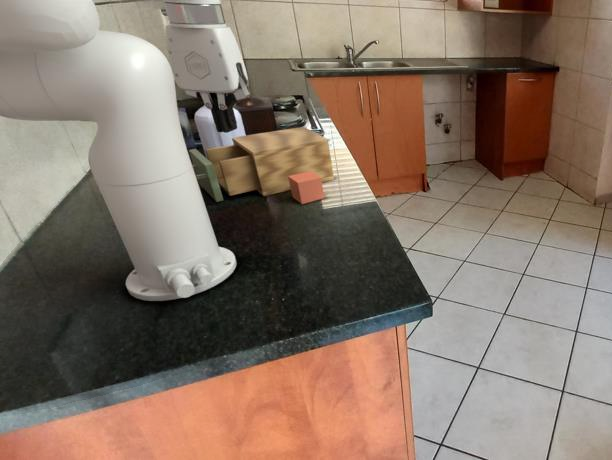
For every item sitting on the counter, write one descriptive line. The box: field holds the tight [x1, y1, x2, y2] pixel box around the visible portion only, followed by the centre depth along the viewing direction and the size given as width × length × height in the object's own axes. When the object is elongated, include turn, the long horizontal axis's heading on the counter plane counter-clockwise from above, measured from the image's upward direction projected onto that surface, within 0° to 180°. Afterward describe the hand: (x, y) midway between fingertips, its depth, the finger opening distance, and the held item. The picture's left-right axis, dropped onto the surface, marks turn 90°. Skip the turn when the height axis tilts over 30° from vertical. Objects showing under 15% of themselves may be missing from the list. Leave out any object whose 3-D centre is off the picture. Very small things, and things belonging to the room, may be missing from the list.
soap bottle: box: [193, 104, 246, 159], centre depth 97 cm, size 9×9×25 cm
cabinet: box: [232, 126, 335, 197], centre depth 91 cm, size 15×12×9 cm
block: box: [288, 171, 325, 205], centre depth 84 cm, size 4×4×4 cm
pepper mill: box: [233, 86, 279, 135], centre depth 111 cm, size 16×11×18 cm
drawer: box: [188, 144, 261, 202], centre depth 83 cm, size 19×11×7 cm, turn 136°
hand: (227, 130), depth 76 cm, fingers closed
